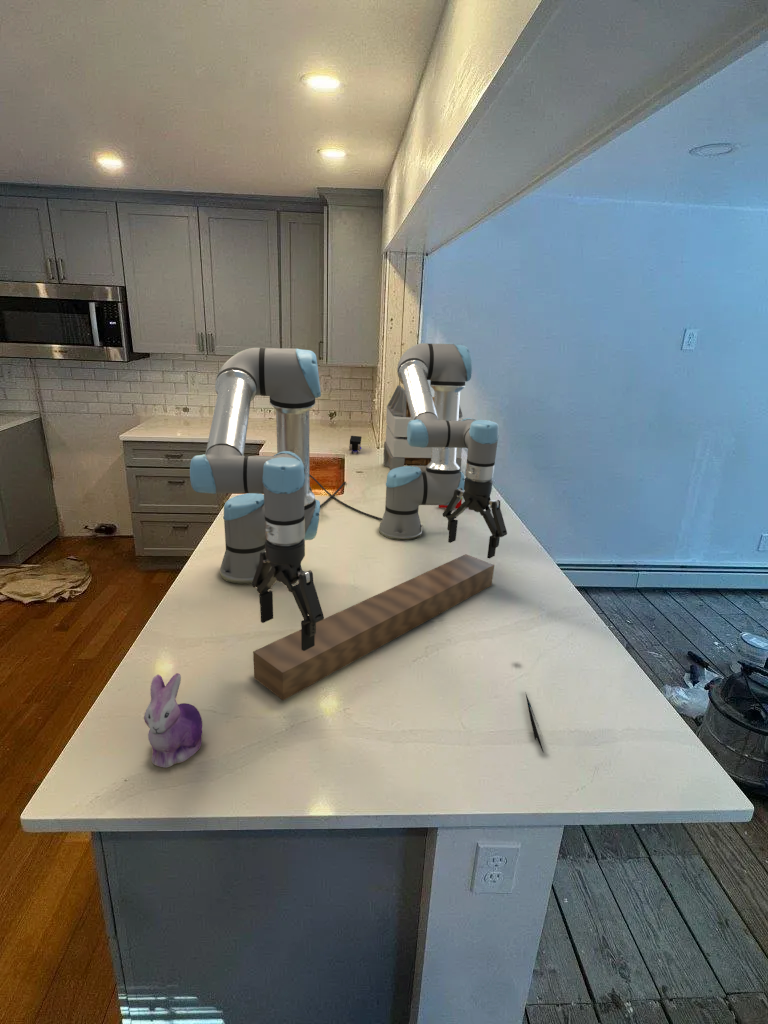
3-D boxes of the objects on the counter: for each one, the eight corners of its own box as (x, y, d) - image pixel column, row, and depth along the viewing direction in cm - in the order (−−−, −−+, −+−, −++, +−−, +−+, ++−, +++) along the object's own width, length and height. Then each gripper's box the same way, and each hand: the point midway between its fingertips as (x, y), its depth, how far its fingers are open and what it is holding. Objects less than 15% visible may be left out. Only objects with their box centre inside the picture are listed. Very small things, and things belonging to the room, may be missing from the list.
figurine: (152, 779, 93) (143, 704, 88) (145, 738, 102) (136, 668, 97) (210, 760, 98) (205, 688, 92) (199, 723, 106) (193, 655, 101)
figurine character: (361, 457, 304) (361, 447, 317) (361, 444, 301) (362, 434, 314) (348, 456, 304) (349, 447, 317) (348, 443, 300) (349, 434, 314)
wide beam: (463, 573, 172) (465, 553, 170) (491, 585, 165) (494, 564, 163) (254, 678, 120) (252, 651, 118) (283, 700, 113) (282, 672, 111)
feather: (517, 669, 129) (522, 662, 128) (543, 757, 102) (550, 750, 102) (511, 665, 129) (516, 659, 128) (535, 752, 102) (542, 745, 101)
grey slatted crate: (382, 463, 289) (386, 382, 275) (445, 464, 293) (451, 384, 279) (390, 482, 257) (394, 392, 243) (460, 483, 261) (468, 394, 247)
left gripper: (231, 524, 114) (236, 615, 122) (311, 567, 98) (311, 668, 106) (262, 515, 119) (265, 603, 127) (343, 554, 103) (341, 652, 111)
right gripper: (434, 469, 159) (428, 538, 167) (511, 493, 144) (501, 567, 151) (450, 465, 164) (444, 532, 172) (526, 487, 149) (515, 559, 157)
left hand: (286, 633), depth 116 cm, fingers open, 13 cm apart
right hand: (470, 549), depth 162 cm, fingers open, 13 cm apart
